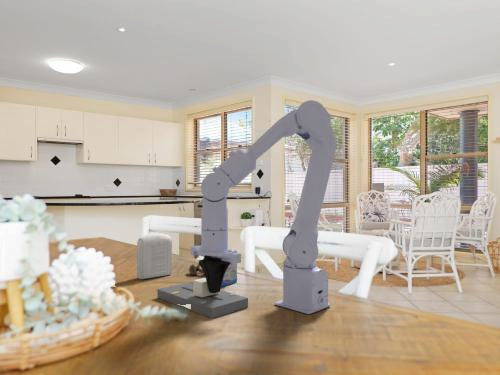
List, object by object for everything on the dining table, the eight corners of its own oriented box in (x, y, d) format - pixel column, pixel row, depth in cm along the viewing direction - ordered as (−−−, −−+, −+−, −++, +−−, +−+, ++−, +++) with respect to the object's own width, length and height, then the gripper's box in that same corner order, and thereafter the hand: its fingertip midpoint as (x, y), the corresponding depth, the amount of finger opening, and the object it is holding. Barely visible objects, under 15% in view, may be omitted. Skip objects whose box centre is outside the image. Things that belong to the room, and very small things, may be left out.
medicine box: (218, 288, 101) (218, 254, 101) (205, 285, 104) (205, 252, 104) (237, 282, 107) (237, 250, 107) (225, 280, 110) (225, 248, 110)
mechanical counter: (230, 259, 112) (237, 246, 121) (186, 254, 113) (196, 241, 123) (229, 283, 113) (235, 268, 123) (186, 277, 115) (195, 263, 125)
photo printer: (166, 272, 119) (166, 231, 119) (174, 274, 116) (174, 232, 116) (134, 278, 112) (134, 234, 112) (142, 280, 109) (142, 235, 109)
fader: (219, 292, 89) (219, 278, 89) (201, 297, 85) (201, 282, 85) (210, 290, 91) (211, 276, 91) (193, 294, 87) (193, 280, 87)
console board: (248, 307, 86) (248, 297, 86) (212, 318, 79) (212, 307, 79) (192, 289, 100) (192, 280, 100) (157, 297, 93) (157, 288, 93)
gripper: (179, 228, 88) (179, 289, 88) (223, 234, 78) (222, 303, 78) (204, 225, 93) (204, 283, 93) (248, 231, 83) (248, 296, 83)
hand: (214, 292), depth 86 cm, fingers closed
